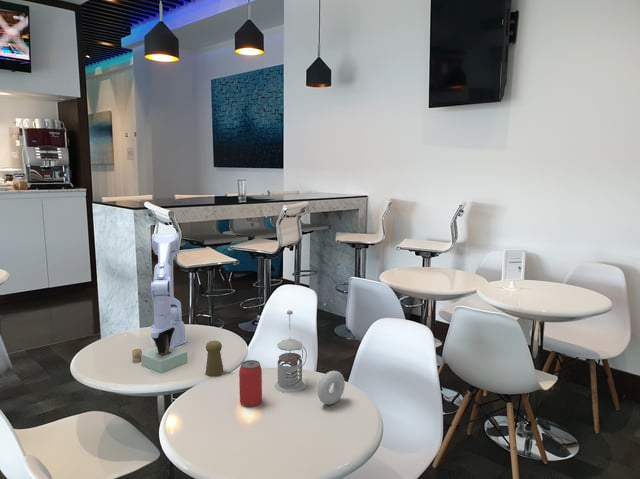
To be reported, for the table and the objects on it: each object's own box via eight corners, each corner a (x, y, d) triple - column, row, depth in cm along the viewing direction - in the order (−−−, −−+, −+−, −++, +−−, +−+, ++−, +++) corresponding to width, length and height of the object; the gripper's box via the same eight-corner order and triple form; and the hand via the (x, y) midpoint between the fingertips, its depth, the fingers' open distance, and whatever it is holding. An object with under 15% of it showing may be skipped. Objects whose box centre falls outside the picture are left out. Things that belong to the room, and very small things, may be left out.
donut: (323, 411, 133) (323, 378, 132) (315, 407, 136) (315, 374, 134) (347, 399, 140) (347, 368, 139) (338, 396, 143) (339, 364, 141)
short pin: (138, 358, 170) (138, 348, 169) (144, 360, 168) (143, 350, 168) (130, 361, 167) (130, 350, 167) (136, 363, 166) (135, 352, 165)
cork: (221, 376, 155) (220, 345, 154) (203, 376, 156) (202, 345, 154) (225, 369, 161) (224, 338, 160) (208, 369, 162) (207, 338, 160)
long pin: (165, 356, 167) (164, 334, 166) (171, 358, 166) (170, 336, 165) (157, 358, 165) (156, 337, 164) (163, 361, 163) (162, 339, 162)
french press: (268, 386, 149) (267, 310, 145) (294, 374, 158) (294, 302, 154) (289, 396, 142) (289, 317, 139) (315, 383, 151) (315, 308, 147)
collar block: (167, 355, 173) (167, 345, 173) (187, 362, 167) (186, 351, 166) (141, 365, 164) (141, 354, 164) (161, 373, 158) (160, 361, 157)
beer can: (265, 398, 141) (265, 361, 139) (255, 409, 134) (255, 369, 133) (246, 395, 143) (245, 358, 141) (235, 405, 137) (234, 366, 135)
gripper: (159, 307, 170) (161, 342, 172) (141, 319, 156) (143, 358, 158) (178, 307, 170) (180, 343, 172) (162, 320, 155) (164, 359, 157)
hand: (164, 350), depth 165 cm, fingers closed on long pin, 3 cm apart
